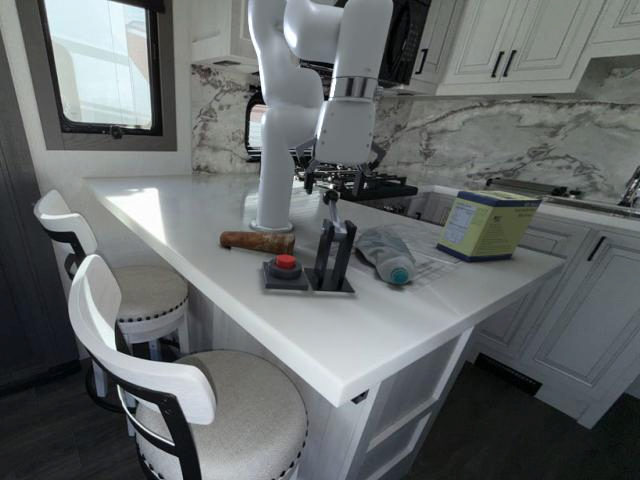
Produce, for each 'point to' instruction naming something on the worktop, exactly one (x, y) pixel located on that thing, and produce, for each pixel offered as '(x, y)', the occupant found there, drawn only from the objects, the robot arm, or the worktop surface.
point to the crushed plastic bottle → (387, 255)
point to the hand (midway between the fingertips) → (332, 194)
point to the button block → (284, 276)
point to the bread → (259, 241)
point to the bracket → (335, 277)
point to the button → (285, 261)
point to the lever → (335, 215)
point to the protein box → (486, 224)
